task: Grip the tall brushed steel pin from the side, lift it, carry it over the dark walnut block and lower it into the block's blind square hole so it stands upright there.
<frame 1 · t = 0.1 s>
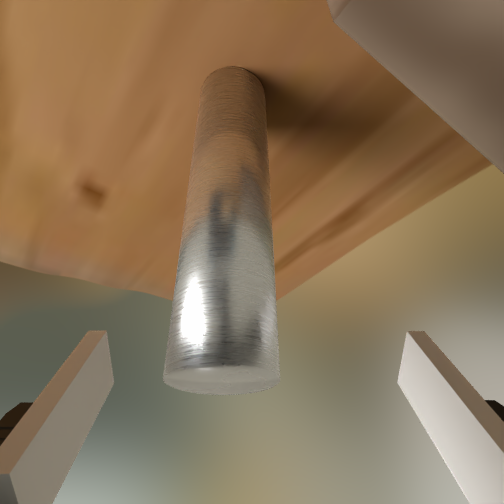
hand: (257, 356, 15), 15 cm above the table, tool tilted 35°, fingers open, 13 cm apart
steel pin: (233, 98, 22), on the table
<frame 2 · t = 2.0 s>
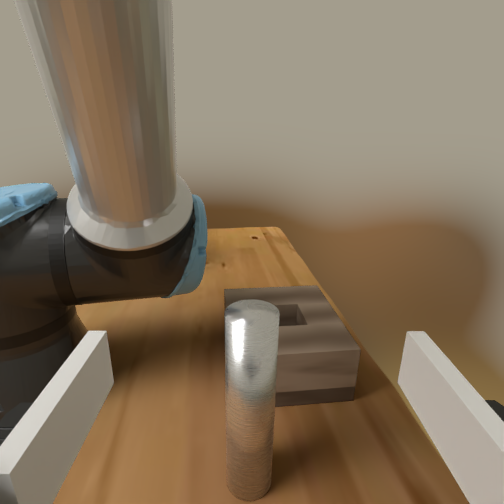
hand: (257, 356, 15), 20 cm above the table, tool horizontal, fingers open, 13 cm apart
socket block: (280, 360, 47), on the table
steel pin: (248, 478, 31), on the table
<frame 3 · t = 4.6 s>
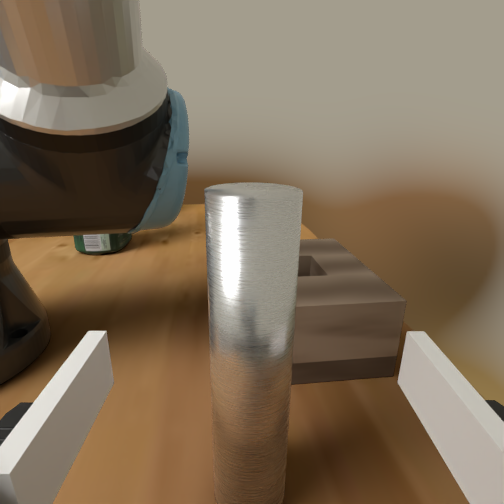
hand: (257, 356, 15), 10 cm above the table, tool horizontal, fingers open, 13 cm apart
socket block: (289, 329, 36), on the table
steel pin: (249, 487, 20), on the table
coffee jar: (104, 247, 60), on the table
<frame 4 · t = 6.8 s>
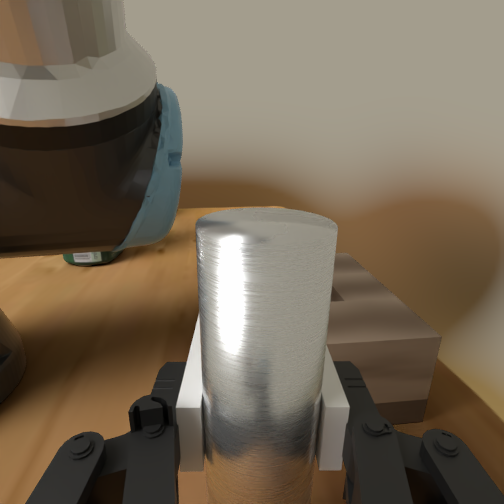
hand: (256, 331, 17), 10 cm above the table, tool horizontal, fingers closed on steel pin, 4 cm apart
socket block: (298, 358, 32), on the table
coffee jar: (96, 257, 55), on the table
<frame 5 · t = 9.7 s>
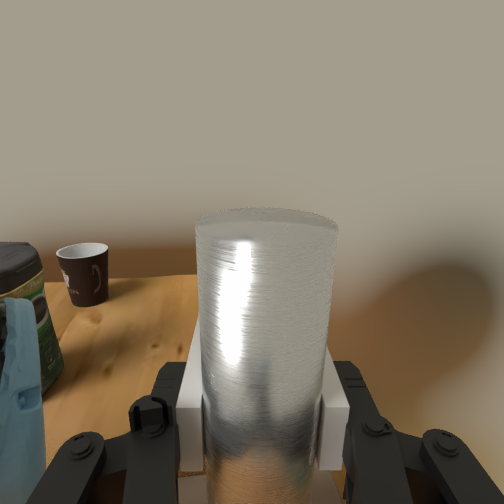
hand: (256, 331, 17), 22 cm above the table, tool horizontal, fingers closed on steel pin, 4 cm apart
coffee jar: (24, 387, 45), on the table
coffee mug: (89, 303, 66), on the table
when the fingers open (13 cm above the table, at t = 12.6 s): steel pin drops 1 cm, resting on socket block.
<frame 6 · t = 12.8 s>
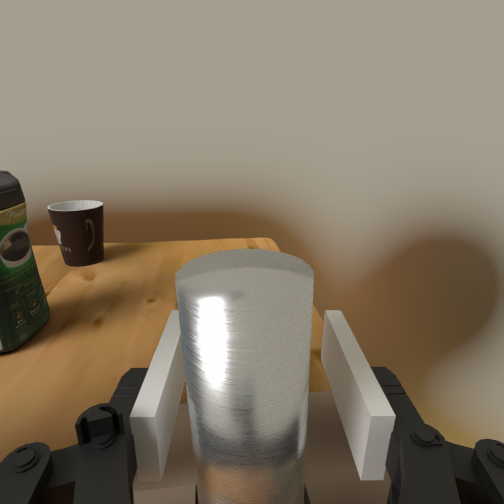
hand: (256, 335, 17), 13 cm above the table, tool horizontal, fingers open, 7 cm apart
coffee jar: (5, 336, 41), on the table
coffee mug: (83, 263, 62), on the table
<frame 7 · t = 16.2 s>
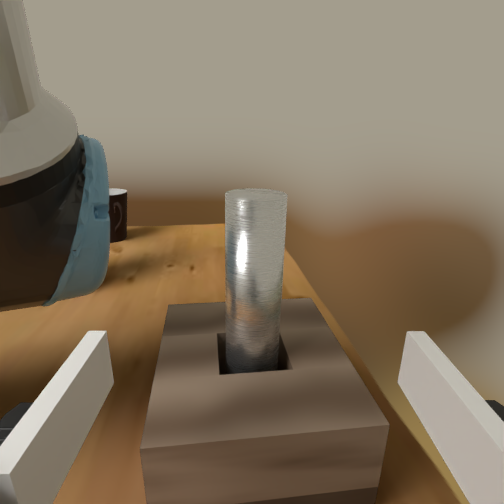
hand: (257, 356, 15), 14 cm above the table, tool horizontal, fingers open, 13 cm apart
socket block: (250, 421, 29), on the table
steel pin: (250, 402, 28), point 2 cm above the table, touching socket block
coffee mug: (110, 241, 75), on the table
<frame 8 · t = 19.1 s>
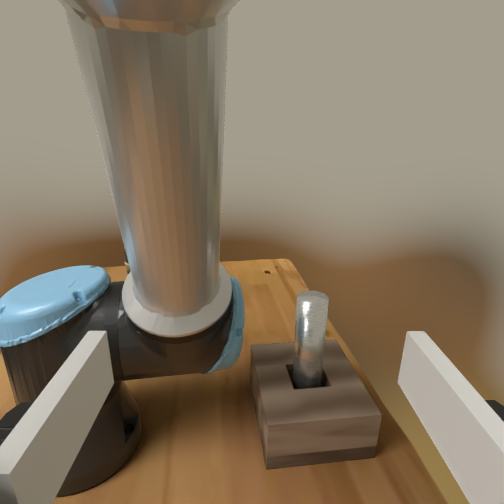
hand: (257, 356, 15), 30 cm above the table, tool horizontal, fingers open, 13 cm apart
socket block: (304, 414, 51), on the table
steel pin: (305, 403, 51), point 2 cm above the table, touching socket block
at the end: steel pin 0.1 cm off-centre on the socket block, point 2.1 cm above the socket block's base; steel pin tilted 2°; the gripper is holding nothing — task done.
